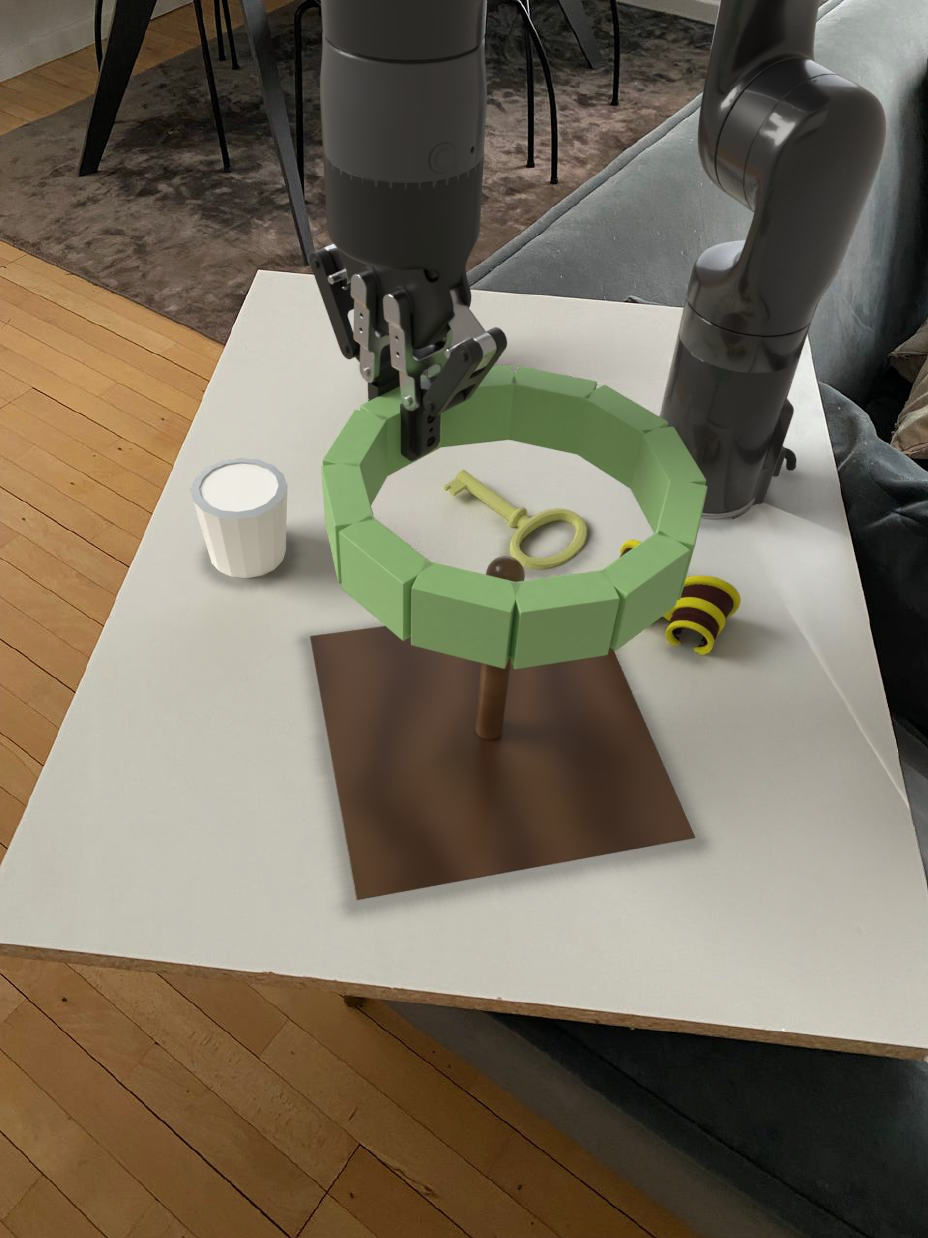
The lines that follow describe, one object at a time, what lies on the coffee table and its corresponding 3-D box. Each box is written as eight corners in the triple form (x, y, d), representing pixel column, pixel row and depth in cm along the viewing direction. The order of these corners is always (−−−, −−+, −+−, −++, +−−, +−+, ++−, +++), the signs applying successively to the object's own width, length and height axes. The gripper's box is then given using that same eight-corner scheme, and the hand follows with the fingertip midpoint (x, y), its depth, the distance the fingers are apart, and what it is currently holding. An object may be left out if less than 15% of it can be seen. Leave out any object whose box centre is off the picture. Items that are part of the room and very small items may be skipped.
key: (455, 484, 87) (457, 464, 86) (594, 530, 84) (598, 510, 83) (418, 536, 83) (418, 515, 81) (563, 586, 80) (566, 566, 78)
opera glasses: (586, 614, 79) (590, 574, 75) (621, 566, 81) (626, 525, 77) (703, 672, 75) (714, 635, 71) (735, 621, 78) (747, 581, 74)
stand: (589, 603, 79) (623, 430, 67) (693, 842, 65) (758, 676, 53) (310, 641, 75) (294, 464, 63) (356, 905, 61) (347, 739, 49)
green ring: (619, 408, 66) (629, 352, 63) (746, 634, 53) (766, 577, 50) (307, 441, 62) (302, 384, 59) (362, 693, 49) (359, 635, 46)
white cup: (205, 529, 82) (193, 457, 77) (293, 525, 83) (287, 455, 78) (200, 590, 77) (186, 519, 72) (293, 586, 78) (287, 515, 73)
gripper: (568, 170, 47) (532, 473, 60) (370, 77, 54) (376, 368, 66) (445, 218, 43) (435, 531, 56) (249, 112, 50) (280, 413, 62)
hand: (403, 441), depth 61 cm, fingers closed on green ring, 2 cm apart
